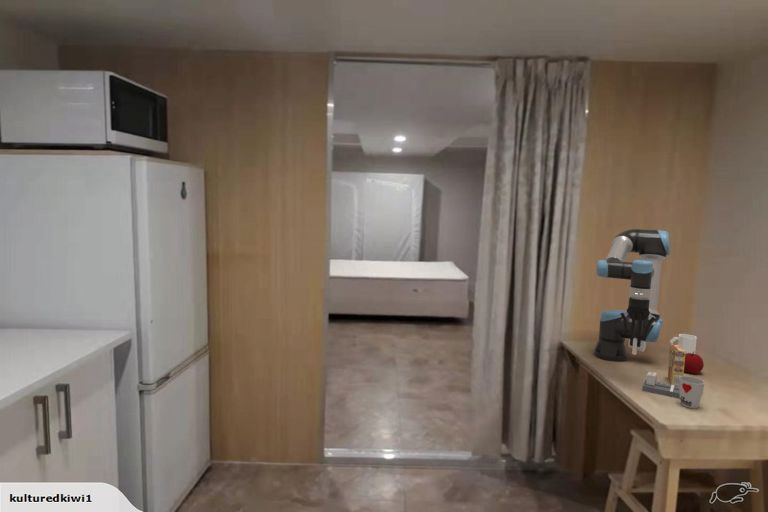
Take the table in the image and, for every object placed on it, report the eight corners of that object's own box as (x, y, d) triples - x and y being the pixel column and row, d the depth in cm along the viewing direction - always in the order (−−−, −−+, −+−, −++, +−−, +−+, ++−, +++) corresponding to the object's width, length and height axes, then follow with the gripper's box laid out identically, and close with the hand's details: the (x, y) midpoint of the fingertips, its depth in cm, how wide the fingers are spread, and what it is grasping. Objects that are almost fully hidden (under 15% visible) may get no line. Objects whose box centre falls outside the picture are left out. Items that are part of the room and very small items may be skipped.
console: (642, 390, 198) (643, 380, 198) (645, 384, 206) (646, 373, 205) (694, 401, 188) (695, 390, 188) (695, 394, 196) (696, 383, 195)
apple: (704, 372, 223) (706, 351, 222) (700, 377, 216) (702, 355, 215) (681, 367, 229) (683, 346, 228) (676, 371, 222) (678, 350, 221)
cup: (671, 401, 188) (674, 376, 187) (691, 401, 189) (694, 376, 188) (686, 410, 180) (689, 384, 179) (707, 409, 181) (709, 383, 180)
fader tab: (646, 384, 199) (647, 374, 199) (647, 380, 203) (648, 371, 203) (654, 385, 198) (655, 376, 197) (655, 382, 202) (656, 372, 201)
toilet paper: (643, 352, 251) (644, 339, 251) (624, 346, 262) (625, 333, 261) (654, 350, 255) (655, 337, 254) (635, 344, 265) (636, 332, 264)
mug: (691, 353, 252) (693, 334, 251) (698, 358, 244) (700, 339, 242) (666, 350, 255) (667, 332, 253) (671, 355, 246) (673, 336, 245)
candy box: (683, 386, 204) (686, 351, 202) (671, 385, 205) (675, 349, 204) (677, 379, 212) (680, 345, 211) (666, 378, 214) (669, 344, 212)
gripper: (620, 297, 201) (615, 352, 203) (656, 301, 194) (651, 359, 196) (623, 294, 207) (618, 348, 210) (658, 298, 200) (653, 354, 202)
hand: (634, 353), depth 203 cm, fingers closed
